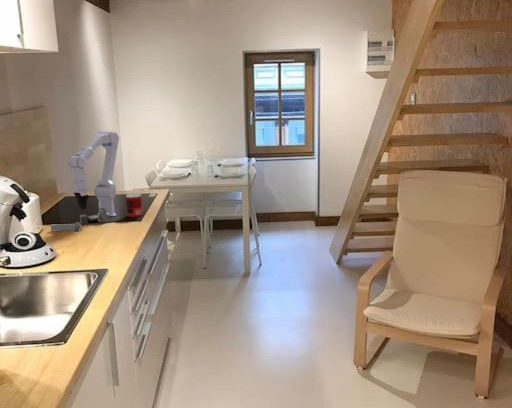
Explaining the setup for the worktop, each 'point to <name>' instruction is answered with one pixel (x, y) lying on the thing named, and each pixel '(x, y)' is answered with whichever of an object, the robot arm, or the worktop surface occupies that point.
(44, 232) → the worktop surface
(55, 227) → the grey lever bar
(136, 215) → the canned food
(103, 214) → the eye bracket
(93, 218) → the hook rod
